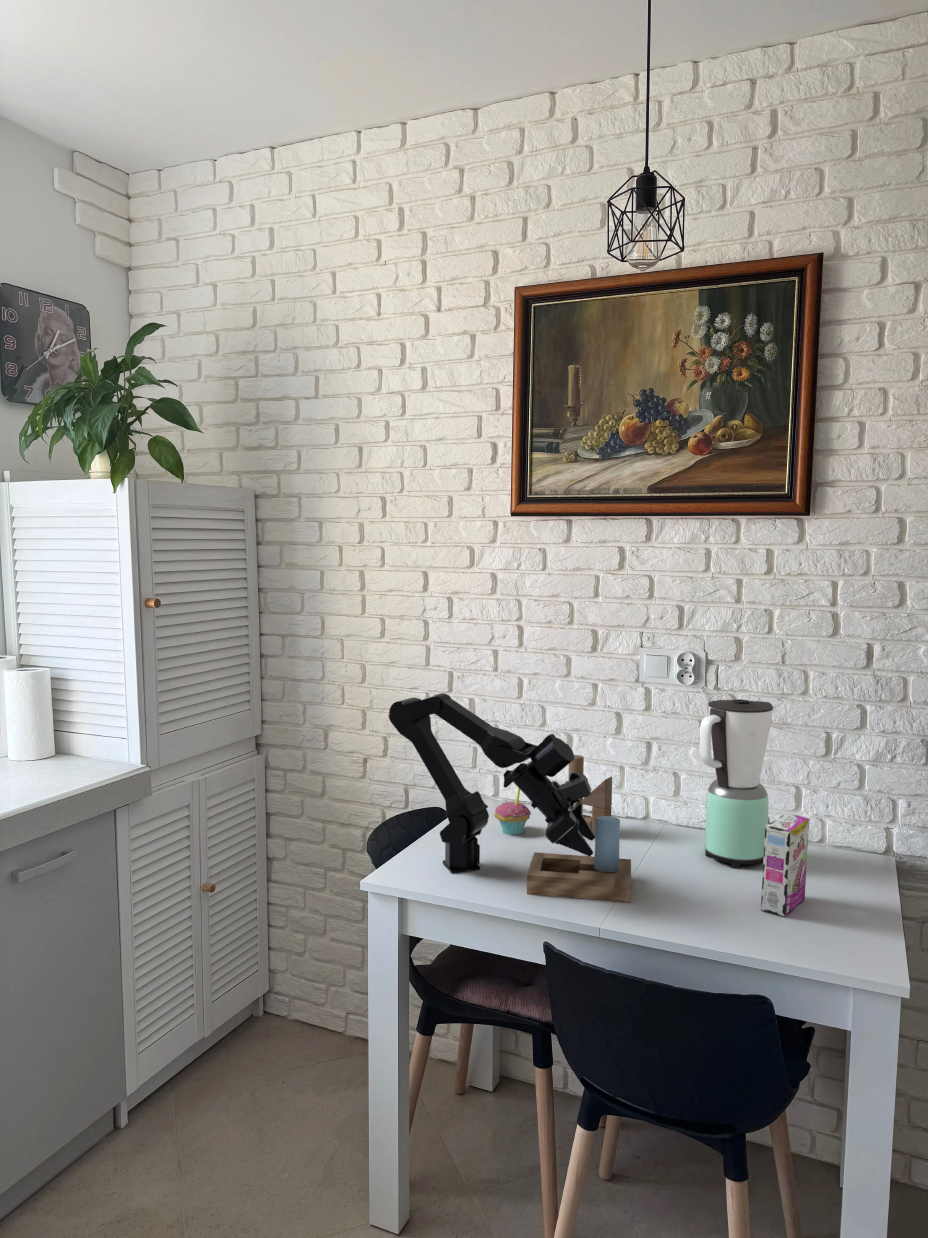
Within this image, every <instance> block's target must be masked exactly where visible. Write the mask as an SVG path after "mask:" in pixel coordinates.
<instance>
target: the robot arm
mask: <svg viewBox="0 0 928 1238" xmlns="http://www.w3.org/2000/svg"><path fill="white" fill-rule="evenodd" d="M431 715H436V716H437V717H439V718H440V719H442V720H443V721H444V722H446V723H448V724H449V725H450V726H451V727H454V728H455V729H456V730H458V731H459V732H460V733H462V734H463V735H464V736H466V737H468V738H469V739H470V740H472V741H473V742H475V743H476V744H477V745H478V746H479V747H480V748H481V751H482V753H483V754H484V755H485V757H487V758H488V759H489V761H491V762H492V763H493V764H494V765H495V766H496V767H498V768H501V769H506V768H510V767H511V766H513V765H516V764H518V765H516V767H515V768H514V769H513V770H509V769H506V770H505V772H504V773H503V787H504V788H508V787H509V786H510V785H511V784H514V785H515V786H516V787H517V789H518V788H519V789H520V792H522V793H523V794H524V795H525V797H526V798H527V799H528V800H529V801H530V802H531V803H530V806H531V807H532V808H533V809H534V810H535V809H536V808H537V809H538V810H539V812H540V813H541V814H542V815H543V816H544V817H545V819H544V821H545V822H546V824H547V826H546V828H545V838H547V840H548V841H549V842H550V843H551V844H556V845H560V846H563V847H565V848H568V849H571V850H574V851H576V852H578V853H581V854H583V855H584V856H592V855H594V851H593V849H592V848H591V846H590V845H589V843H588V842H587V840H589V841H591V842H592V841H594V840H595V836H594V834H593V832H592V830H591V829H590V827H589V825H588V823H587V821H586V820H585V818H584V816H583V815H584V813H583V814H582V801H580V799H581V798H582V797H583V799H584V798H585V797H588V796H589V795H591V792H592V791H593V789H592V788H591V785H590V783H589V779H588V777H587V776H586V774H583V775H581V774H579V773H578V772H577V771H576V772H573V773H571V774H570V780H569V781H568V780H566V781H565V782H564V783H562V784H560V783H559V782H558V781H557V780H552V781H551V779H549V778H553V777H555V776H556V775H558V773H560V772H561V771H563V769H565V768H566V767H567V766H569V763H571V762H572V761H573V760H574V755H575V754H574V751H573V750H572V748H571V747H570V745H569V744H568V743H566V742H565V741H564V740H562V739H561V738H558V737H557V736H556V735H555V734H554V733H550V734H547V736H546V737H544V738H543V740H542V741H541V742H540V743H539V744H538V745H535V744H532V743H529V742H527V741H525V740H524V738H523V737H522V736H520V735H518V734H516V733H513V732H511V731H508V730H506V729H503V728H498V727H495V726H493V725H491V724H489V722H486V721H485V720H483V719H482V718H480V717H479V716H477V715H476V714H475V713H474V712H472V711H470V710H469V709H468V708H466V707H465V706H463V705H462V704H460V703H458V702H457V701H456V700H455V699H453V698H452V697H451V696H450V695H449V694H447V693H444V692H443V693H442V692H441V693H437V694H434V695H431V696H430V697H427V698H424V699H420V698H418V697H409V698H406V699H401V700H398V701H395V702H393V703H392V704H391V706H390V707H389V712H388V719H389V722H390V723H391V725H392V726H393V727H394V728H395V730H396V731H397V732H398V734H400V735H401V736H403V737H404V738H405V739H407V740H408V741H409V742H410V743H412V745H413V747H414V749H415V750H416V752H417V754H418V755H419V757H420V759H421V761H422V762H423V764H424V766H425V768H426V769H427V772H428V773H429V774H430V777H431V779H432V780H433V781H434V783H435V786H437V789H438V790H439V791H440V794H441V796H442V797H443V799H444V803H445V813H446V814H445V815H446V819H447V820H448V822H449V823H448V824H447V825H446V826H444V827H443V828H442V829H441V830H440V831H439V836H440V839H441V842H442V843H444V849H445V851H444V860H442V864H443V865H444V867H445V868H446V869H448V871H449V873H452V874H454V873H455V874H456V873H462V872H465V873H466V872H471V871H480V870H481V866H480V865H479V864H481V863H480V862H481V857H480V856H481V855H480V854H481V853H480V851H481V846H480V844H478V843H479V842H478V841H479V839H478V838H477V836H480V835H481V834H482V831H483V829H484V828H485V827H486V826H487V824H488V822H489V818H490V815H489V811H488V808H489V806H488V804H486V802H485V801H484V800H483V798H482V796H481V793H480V792H479V791H478V790H477V791H474V792H471V791H469V790H468V789H466V787H465V786H464V785H463V782H462V781H461V779H460V778H459V776H458V773H456V770H455V769H454V767H453V766H452V764H451V762H450V760H449V759H448V757H447V755H446V754H445V752H444V750H443V747H441V745H440V744H439V742H438V739H437V738H436V737H435V735H434V733H433V731H432V721H431ZM529 759H530V761H529V762H528V763H524V762H525V761H527V760H529ZM576 801H577V802H579V801H580V802H579V803H578V804H575V802H576ZM586 839H587V840H586Z"/></svg>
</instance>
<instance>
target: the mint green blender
mask: <svg viewBox="0 0 928 1238" xmlns="http://www.w3.org/2000/svg"><path fill="white" fill-rule="evenodd" d="M707 705H708V715H707V716H704V717H703V719H702V720H701V721H700V722H701V723H700V726H699V743H698V744H699V747H698V748H699V757H700V759H701V761H702V762H703V764H704V765H706V767H707V766H708V767H709V768H712V769H713V768H714V769H715V775H716V779H714V780H713V781H711V783H710V785H709V787H708V788H707V792H706V798H705V799H706V801H705V802H706V803H705V805H706V806H705V828H704V831H705V832H704V849H705V850H704V852H705V854H704V856H705V857H707V858H710V859H711V858H713V859H714V860H717V861H720V862H722V863H723V862H724V863H727V864H730V868H732V869H740V868H741V865H753V864H760V863H761V864H763V859H764V858H763V857H764V838H765V826H766V825H768V824H769V823H771V820H770V817H769V802H770V801H769V794H768V792H767V789H766V788H765V787H764V785H763V784H762V783H760V781H761V777H762V776H761V775H762V771H763V766H764V765H763V764H764V760H765V755H766V750H767V746H768V739H769V733H770V730H771V725H772V719H773V718H772V717H773V710H774V706H773V705H772V703H771V702H769V701H758V700H747V699H739V698H737V699H718V700H712V701H709V702H708V703H707ZM712 752H713V753H712ZM712 754H713V757H712Z"/></svg>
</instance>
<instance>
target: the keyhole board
mask: <svg viewBox="0 0 928 1238" xmlns="http://www.w3.org/2000/svg"><path fill="white" fill-rule="evenodd" d="M594 864H595V856H592V855H591V856H587V855H577V854H564V853H550V852H538V851H537V852H536V851H535V852H533V856H532V858H531V861H530V864H529V868H528V871H527V874H526V894H527V895H536V896H548V897H549V896H550V897H551V896H552V897H560V896H561V898H573V899H574V898H575V899H586V900H600V901H609V900H610V902H621V901H624V903H631V901H632V899H631V897H632V894H631V893H632V859H631V858H620V857H619V870H618V871H615V872H614V873H609V872H599V871H598V870H596V869H595V867H594Z"/></svg>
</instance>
